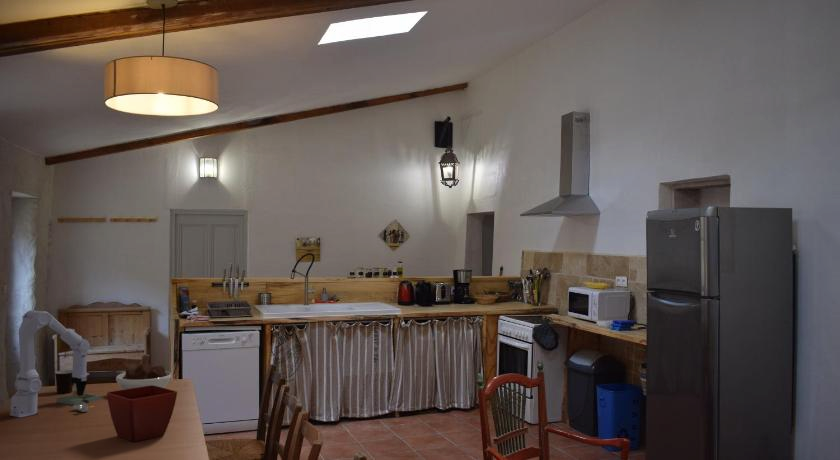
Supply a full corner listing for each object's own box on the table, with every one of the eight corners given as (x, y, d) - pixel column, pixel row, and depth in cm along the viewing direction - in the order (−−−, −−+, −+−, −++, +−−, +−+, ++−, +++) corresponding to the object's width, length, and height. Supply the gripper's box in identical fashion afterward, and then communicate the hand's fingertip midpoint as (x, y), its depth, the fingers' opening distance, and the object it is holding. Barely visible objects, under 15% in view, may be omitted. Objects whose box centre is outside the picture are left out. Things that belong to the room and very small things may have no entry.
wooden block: (75, 398, 303) (76, 384, 303) (73, 396, 306) (73, 383, 306) (85, 396, 306) (85, 383, 306) (82, 395, 309) (82, 382, 309)
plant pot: (152, 426, 268) (152, 384, 269) (177, 435, 256) (178, 391, 257) (104, 436, 254) (105, 392, 254) (129, 446, 241) (130, 400, 242)
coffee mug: (68, 394, 321) (68, 373, 321) (50, 394, 321) (51, 373, 322) (81, 389, 333) (81, 369, 333) (64, 389, 333) (64, 369, 333)
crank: (71, 409, 289) (72, 397, 289) (80, 408, 292) (80, 395, 292) (83, 413, 282) (83, 401, 283) (92, 412, 285) (92, 399, 285)
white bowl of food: (115, 391, 329) (116, 360, 330) (169, 387, 340) (169, 357, 340) (115, 402, 307) (116, 369, 307) (173, 397, 317) (173, 366, 318)
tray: (74, 407, 297) (75, 401, 297) (56, 403, 303) (56, 398, 303) (100, 401, 309) (100, 395, 309) (82, 397, 315) (82, 392, 315)
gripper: (93, 366, 304) (93, 395, 303) (84, 361, 314) (83, 390, 314) (77, 367, 299) (76, 398, 298) (67, 363, 309) (67, 392, 309)
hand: (78, 394), depth 306 cm, fingers closed on wooden block, 4 cm apart
